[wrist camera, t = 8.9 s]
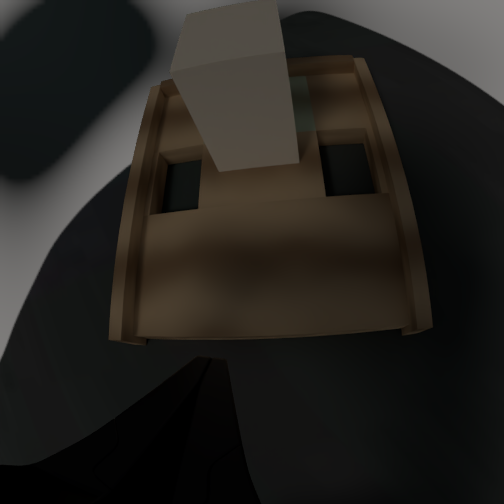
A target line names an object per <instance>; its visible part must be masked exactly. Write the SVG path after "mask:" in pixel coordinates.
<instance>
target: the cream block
mask: <svg viewBox="0 0 504 504" xmlns="http://www.w3.org/2000/svg"><path fill="white" fill-rule="evenodd" d="M169 73H170V74H171V77H172V79H173V81H174V83H175V85H176V87H177V89H178V91H179V93H180V95H181V97H182V99H183V101H184V103H185V105H186V107H187V109H188V111H189V113H190V115H191V117H192V119H193V121H194V123H195V125H196V127H197V129H198V131H199V133H200V135H201V137H202V139H203V141H204V143H205V145H206V147H207V149H208V151H209V153H210V155H211V157H212V159H213V161H214V163H215V165H216V167H217V169H218V171H219V172H223V171H231V170H239V169H247V168H256V167H265V166H275V165H285V164H296V163H299V153H298V145H297V136H296V128H295V120H294V112H293V104H292V97H291V90H290V82H289V76H288V69H287V62H286V56H285V49H284V43H283V37H282V31H281V25H280V20H279V14H278V9H277V3H276V0H258V1H251V2H245V3H239V4H234V5H228V6H223V7H218V8H213V9H209V10H204V11H199V12H195V13H191V14H187V15H186V18H185V21H184V24H183V27H182V31H181V34H180V37H179V40H178V44H177V48H176V51H175V54H174V58H173V61H172V65H171V68H170V72H169Z"/></svg>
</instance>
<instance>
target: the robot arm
mask: <svg viewBox="0 0 504 504" xmlns="http://www.w3.org/2000/svg"><path fill="white" fill-rule="evenodd" d="M0 504H261V502H260V500H259V498H258V495H257V493H256V491H255V488H254V485H253V483H252V480H251V477H250V474H249V471H248V467H247V463H246V459H245V455H244V450H243V446H242V441H241V436H240V431H239V425H238V420H237V415H236V409H235V404H234V399H233V393H232V388H231V382H230V376H229V371H228V365H227V360H226V359H221V358H210V357H205V356H197V357H195V358H194V359H193V360H191V361H190V362H189V363H188V364H186V365H185V366H184V367H182V368H181V369H180V370H178V371H177V372H176V373H175V374H173V375H172V376H171V377H169V378H168V379H167V380H165V381H164V382H163V383H161V384H160V385H159V386H157V387H156V388H155V389H153V390H152V391H151V392H149V393H148V394H147V395H145V396H144V397H143V398H141V399H140V400H139V401H137V402H136V403H135V404H133V405H132V406H131V407H129V408H128V409H126V410H125V411H124V412H122V413H121V414H120V415H118V416H117V417H116V418H115V419H113V420H111V421H110V422H108V423H107V424H106V425H104V426H103V427H101V428H100V429H98V430H97V431H95V432H94V433H92V434H91V435H89V436H87V437H85V438H84V439H82V440H80V441H79V442H77V443H75V444H73V445H71V446H69V447H67V448H65V449H64V450H62V451H60V452H58V453H56V454H54V455H52V456H50V457H48V458H46V459H44V460H42V461H39V462H37V463H34V464H30V465H23V466H13V465H0Z"/></svg>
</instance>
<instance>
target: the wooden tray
mask: <svg viewBox="0 0 504 504" xmlns="http://www.w3.org/2000/svg"><path fill="white" fill-rule="evenodd" d="M286 62H287V69H288V76H289V82H290V90H291V97H292V104H293V112H294V120H295V128H296V136H297V145H298V153H299V163H296V164H285V165H275V166H265V167H256V168H247V169H239V170H231V171H223V172H219V171H218V169H217V167H216V165H215V163H214V161H213V159H212V157H211V155H210V153H209V151H208V149H207V147H206V145H205V143H204V141H203V139H202V137H201V135H200V133H199V131H198V129H197V127H196V125H195V123H194V121H193V119H192V117H191V115H190V113H189V111H188V109H187V107H186V105H185V103H184V101H183V99H182V97H181V95H180V93H179V91H178V89H177V87H176V85H175V83H174V81H173V79H169V80H165V81H162V82H161V85H157V86H153V87H151V90H150V94H149V97H148V101H147V104H146V108H145V111H144V115H143V119H142V122H141V126H140V130H139V134H138V139H137V143H136V147H135V151H134V156H133V160H132V165H131V170H130V175H129V179H128V185H127V190H126V195H125V201H124V206H123V212H122V218H121V225H120V231H119V238H118V245H117V253H116V260H115V269H114V278H113V288H112V299H111V311H110V326H109V340H113V341H118V342H124V343H129V344H135V345H146V339H185V340H229V339H269V338H292V337H309V336H324V335H338V334H350V333H361V332H371V331H381V330H390V329H398V328H401V331H402V335H410V334H416V333H419V332H422V331H425V330H427V329H430V328H433V323H432V313H431V305H430V297H429V289H428V282H427V275H426V269H425V263H424V257H423V252H422V246H421V241H420V236H419V231H418V226H417V222H416V217H415V213H414V208H413V204H412V200H411V196H410V192H409V188H408V184H407V180H406V177H405V173H404V169H403V166H402V162H401V159H400V156H399V152H398V149H397V146H396V143H395V139H394V136H393V133H392V130H391V127H390V124H389V121H388V118H387V116H386V113H385V110H384V107H383V105H382V102H381V99H380V97H379V94H378V91H377V89H376V86H375V84H374V81H373V79H372V76H371V74H370V71H369V69H368V67H367V64H366V62H365V60H364V58H353V57H352V55H335V56H316V57H302V58H290V59H286ZM360 143H364V147H365V151H366V155H367V159H368V164H369V168H370V172H371V177H372V181H373V186H374V191H375V194H361V195H345V196H331V197H326V194H325V187H324V179H323V172H322V166H321V159H320V152H319V146H325V145H340V144H360ZM201 159H202V167H201V179H200V193H199V207H198V209H195V210H186V211H178V212H170V213H163V214H162V206H163V197H164V190H165V182H166V175H167V168H168V165H171V164H176V163H182V162H188V161H194V160H201Z"/></svg>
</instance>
